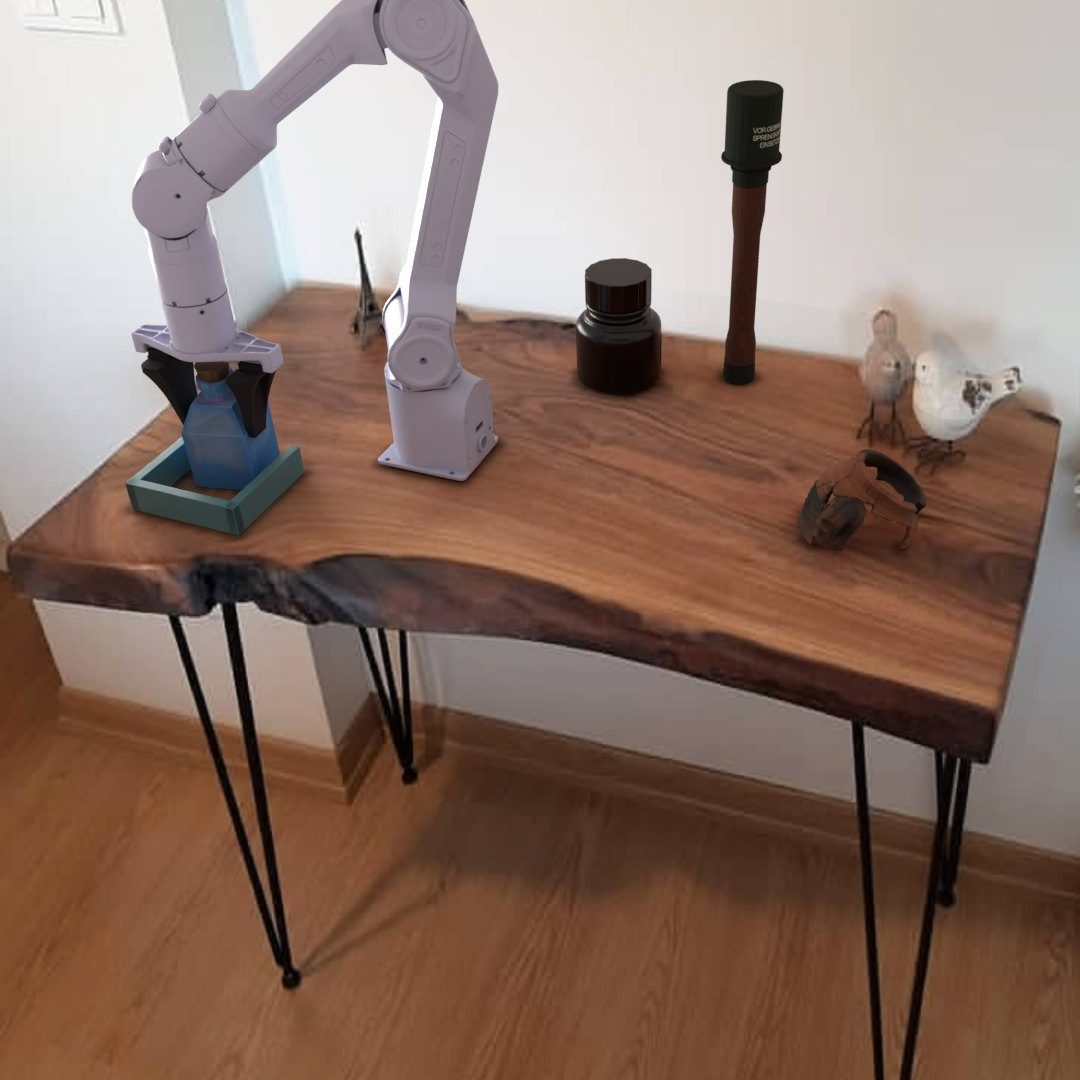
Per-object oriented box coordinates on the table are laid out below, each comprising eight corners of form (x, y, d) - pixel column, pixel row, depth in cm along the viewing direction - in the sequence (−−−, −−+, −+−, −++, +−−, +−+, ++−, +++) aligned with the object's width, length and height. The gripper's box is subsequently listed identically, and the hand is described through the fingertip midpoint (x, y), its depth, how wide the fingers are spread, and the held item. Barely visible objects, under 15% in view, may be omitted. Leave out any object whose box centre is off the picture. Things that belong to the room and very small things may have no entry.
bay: (304, 472, 119) (299, 446, 117) (239, 536, 111) (232, 509, 109) (203, 449, 123) (196, 424, 121) (132, 509, 115) (124, 483, 113)
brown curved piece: (810, 494, 113) (866, 428, 108) (890, 563, 111) (950, 499, 106) (761, 533, 103) (820, 463, 98) (847, 610, 101) (911, 542, 96)
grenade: (729, 395, 127) (745, 100, 109) (701, 372, 131) (712, 84, 113) (776, 382, 128) (799, 90, 110) (747, 359, 133) (765, 74, 115)
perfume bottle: (280, 453, 121) (255, 347, 113) (257, 491, 116) (230, 383, 109) (221, 449, 122) (193, 344, 114) (196, 486, 117) (165, 379, 110)
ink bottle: (678, 368, 132) (681, 264, 124) (639, 406, 126) (640, 298, 119) (599, 349, 136) (598, 247, 129) (558, 384, 130) (554, 279, 123)
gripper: (289, 283, 108) (313, 416, 116) (151, 265, 112) (183, 394, 120) (246, 318, 103) (275, 455, 111) (104, 298, 107) (141, 431, 115)
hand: (224, 426), depth 115 cm, fingers closed on perfume bottle, 7 cm apart
